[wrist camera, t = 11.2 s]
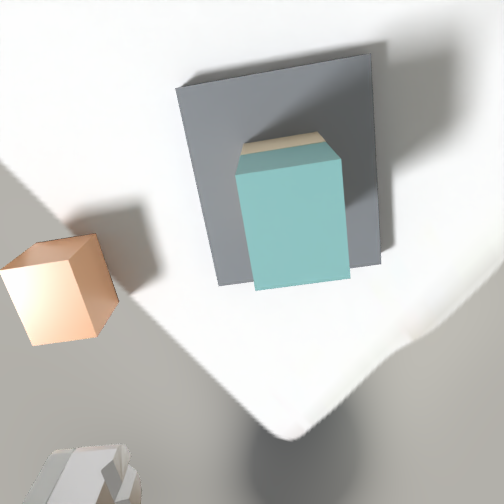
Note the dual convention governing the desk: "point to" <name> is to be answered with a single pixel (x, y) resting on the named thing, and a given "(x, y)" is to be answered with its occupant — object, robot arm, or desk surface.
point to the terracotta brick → (61, 289)
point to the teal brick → (294, 215)
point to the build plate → (280, 116)
